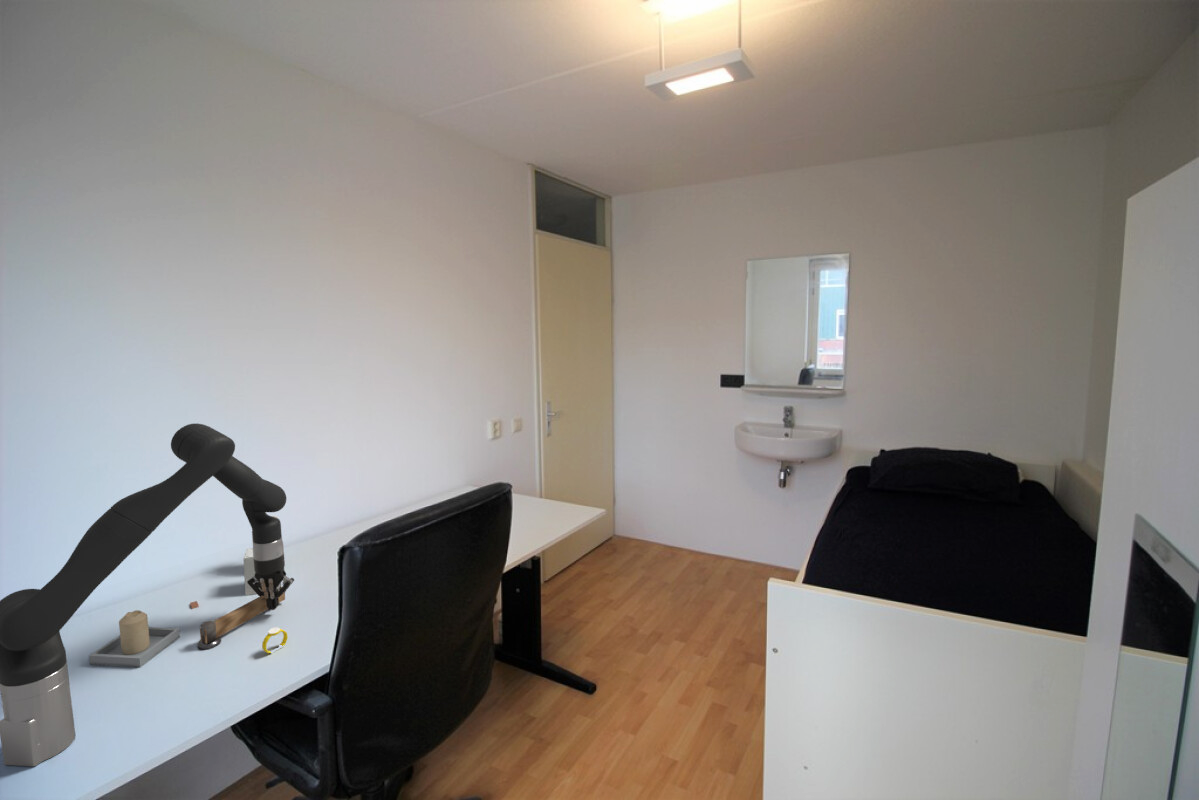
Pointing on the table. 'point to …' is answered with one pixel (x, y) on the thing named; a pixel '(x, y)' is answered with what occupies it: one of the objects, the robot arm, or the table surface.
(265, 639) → the watch
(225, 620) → the crank lever
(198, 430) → the robot arm
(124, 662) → the tray
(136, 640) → the candle
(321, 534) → the table surface
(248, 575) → the supplement box
